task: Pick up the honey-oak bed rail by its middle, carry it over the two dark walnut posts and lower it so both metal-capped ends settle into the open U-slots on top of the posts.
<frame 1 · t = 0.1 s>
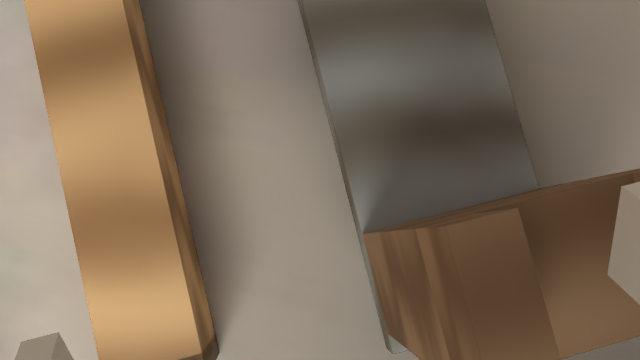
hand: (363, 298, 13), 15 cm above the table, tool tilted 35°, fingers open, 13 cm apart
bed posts: (395, 35, 30), on the table
bed rail: (119, 94, 28), on the table
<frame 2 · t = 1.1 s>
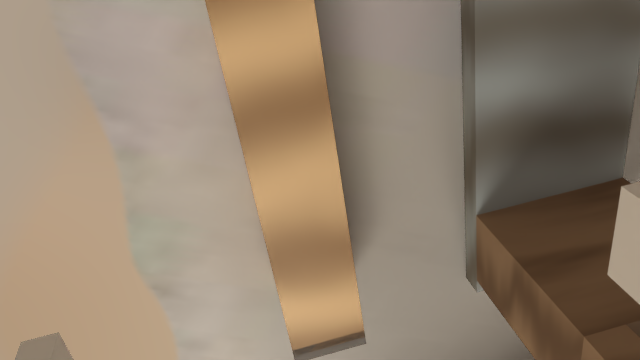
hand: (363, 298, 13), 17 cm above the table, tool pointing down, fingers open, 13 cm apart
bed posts: (545, 23, 29), on the table
bed rail: (268, 83, 27), on the table
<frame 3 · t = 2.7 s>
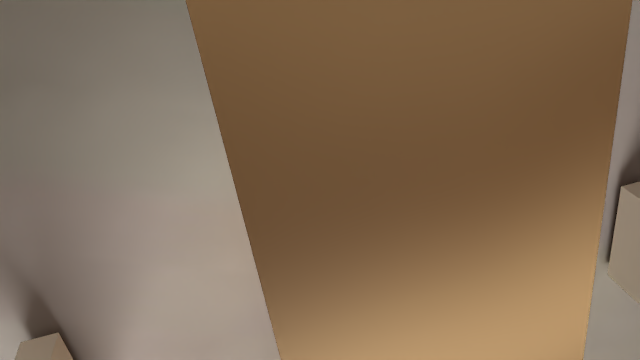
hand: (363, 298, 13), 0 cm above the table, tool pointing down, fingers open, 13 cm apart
bed rail: (363, 298, 13), on the table
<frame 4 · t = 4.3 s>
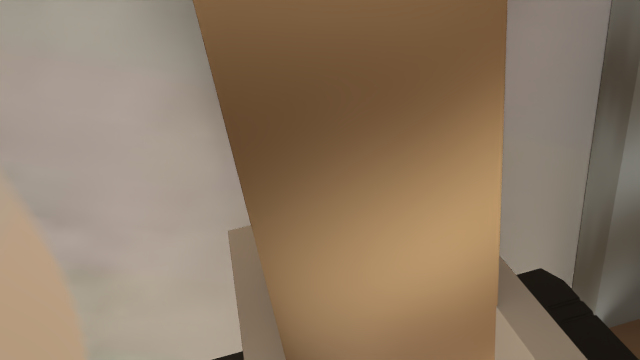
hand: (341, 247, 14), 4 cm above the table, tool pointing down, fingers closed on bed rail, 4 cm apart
bed rail: (336, 236, 15), point 3 cm above the table, touching gripper
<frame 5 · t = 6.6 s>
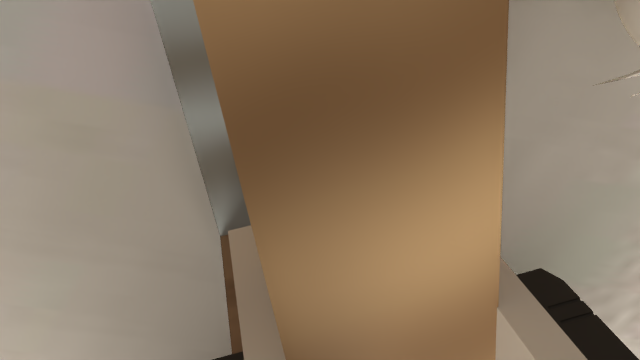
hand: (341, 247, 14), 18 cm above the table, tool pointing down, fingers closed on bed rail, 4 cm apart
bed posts: (260, 57, 30), on the table
bed rail: (336, 235, 15), point 18 cm above the table, touching gripper
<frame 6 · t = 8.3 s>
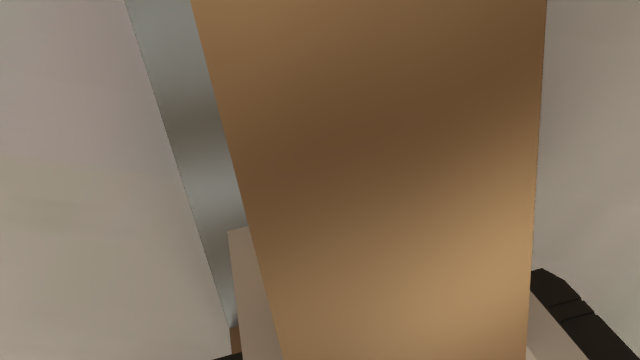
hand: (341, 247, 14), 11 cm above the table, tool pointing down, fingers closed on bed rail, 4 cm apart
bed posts: (280, 113, 24), on the table
bed rail: (346, 263, 14), point 11 cm above the table, touching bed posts, gripper
when the fingers open (11 cm above the table, at t = 8.9 s): bed rail stays where it is, resting on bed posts.
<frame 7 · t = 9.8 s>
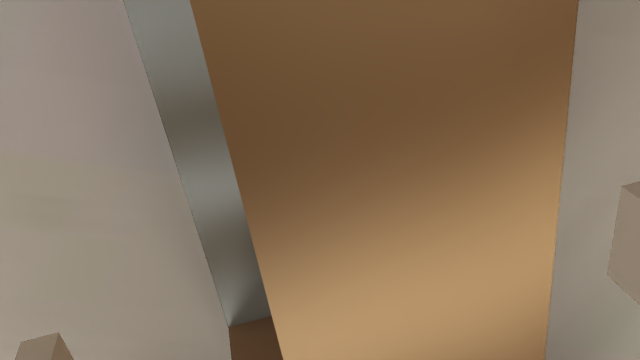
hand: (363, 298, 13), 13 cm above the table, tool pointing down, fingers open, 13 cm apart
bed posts: (281, 108, 23), on the table
bed rail: (351, 264, 13), point 11 cm above the table, touching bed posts
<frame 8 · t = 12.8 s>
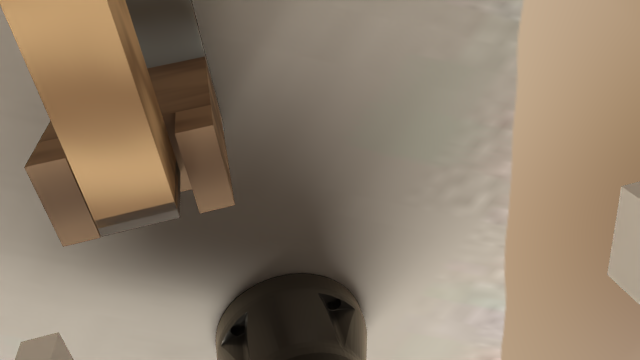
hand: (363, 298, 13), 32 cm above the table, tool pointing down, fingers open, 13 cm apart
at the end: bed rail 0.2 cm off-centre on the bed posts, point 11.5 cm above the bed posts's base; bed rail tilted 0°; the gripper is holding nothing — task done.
